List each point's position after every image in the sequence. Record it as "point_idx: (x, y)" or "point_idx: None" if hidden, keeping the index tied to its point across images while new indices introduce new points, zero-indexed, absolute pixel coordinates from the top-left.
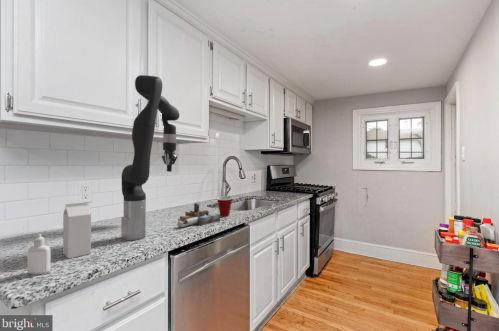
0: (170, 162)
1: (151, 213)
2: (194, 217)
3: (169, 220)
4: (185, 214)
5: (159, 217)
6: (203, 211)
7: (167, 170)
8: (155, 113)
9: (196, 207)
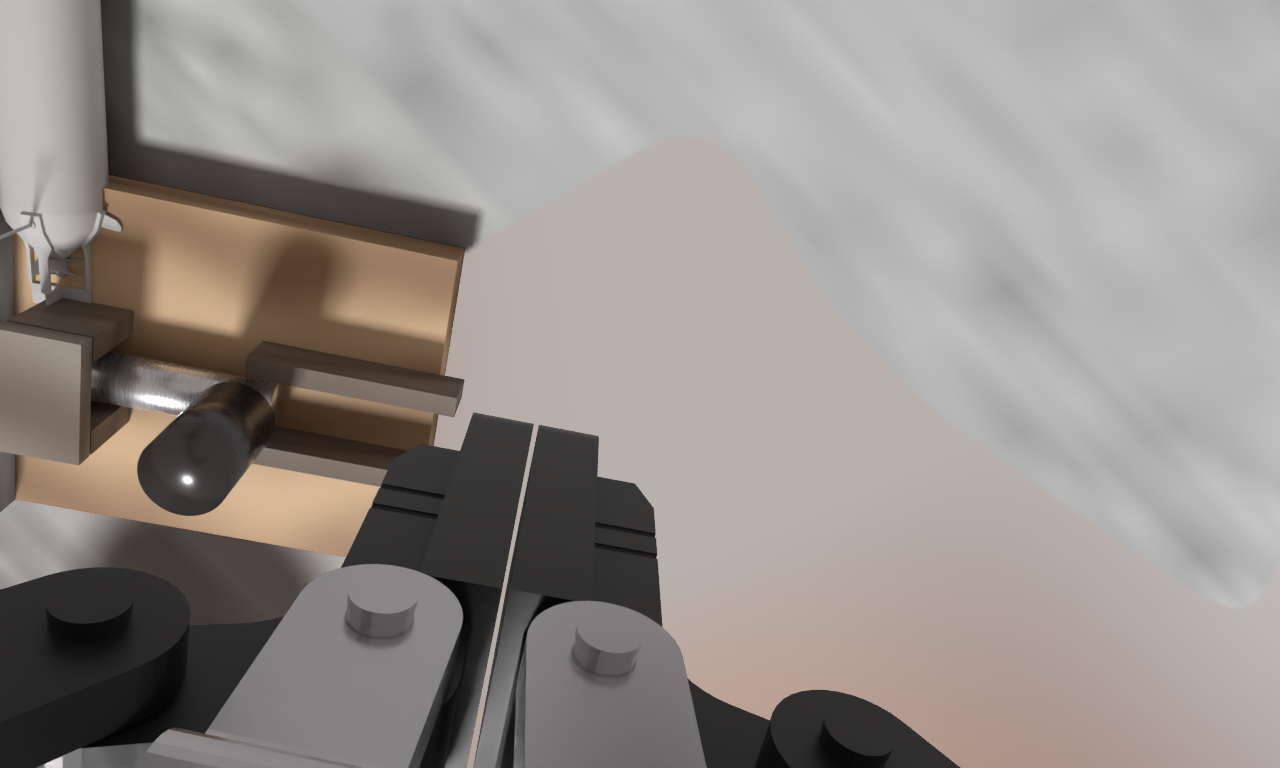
0: (12, 650)
1: (1141, 358)
2: (32, 157)
3: (564, 141)
4: (459, 382)
5: (839, 216)
6: (10, 365)
7: (542, 435)
8: None
9: (176, 418)
